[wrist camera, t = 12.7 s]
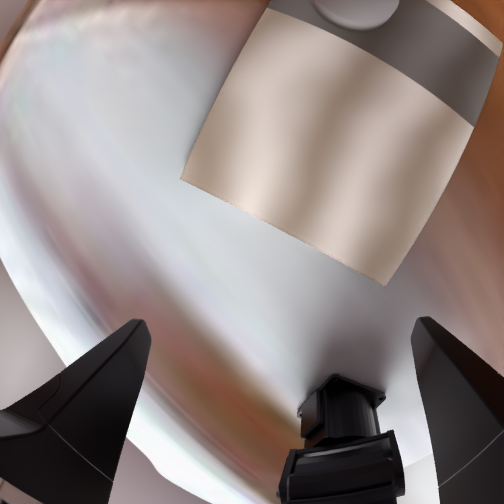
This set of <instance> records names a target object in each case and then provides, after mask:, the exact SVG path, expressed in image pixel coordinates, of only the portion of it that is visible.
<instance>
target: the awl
mask: <svg viewBox="0 0 504 504" xmlns="http://www.w3.org/2000/svg"><path fill="white" fill-rule="evenodd" d="M310 1H311V4H312V6H313V8H314V9H315V11H316V12H317V13H318V14H319V15H320V16H321V17H322V18H323V19H325V20H326V21H327V22H329V23H330V24H332V25H334V26H336V27H338V28H341V29H344V30H348V31H353V32H368V31H373V30H376V29H378V28H380V27H381V26H383V25H384V24H385V23H386V22H387V21H388V19H389V18H390V17H391V15H392V14H393V13H394V11H395V10H396V9H397V7H398V4H399V0H310Z"/></svg>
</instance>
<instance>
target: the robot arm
mask: <svg viewBox="0 0 504 504" xmlns="http://www.w3.org/2000/svg"><path fill="white" fill-rule="evenodd" d="M411 345H412V350H413V356H414V362H415V369H416V375H417V381H418V385H419V389H420V393H421V397H422V401H423V406H424V410H425V414H426V419H427V424H428V428H429V433H430V438H431V444H432V449H433V455H434V460H435V467H436V473H437V480H438V486H439V488H438V489H439V497H440V504H504V377H503V376H502V375H500V374H498V372H497V371H496V370H494V369H493V368H492V367H491V366H490V365H489V364H487V363H486V362H485V361H484V360H483V359H482V358H480V357H479V356H478V355H477V354H476V353H474V352H473V351H472V350H471V349H469V348H468V347H467V346H466V345H465V344H463V343H462V342H461V341H460V340H458V339H457V338H456V337H455V336H454V335H452V334H451V333H450V332H449V331H447V330H446V329H445V328H444V327H442V326H441V325H440V324H438V323H437V322H436V321H435V320H433V319H432V318H431V317H429V316H425V317H419V318H418V319H417V320H416V323H415V326H414V329H413V332H412V335H411ZM150 346H151V335H150V333H149V330H148V327H147V325H146V322H145V321H144V320H143V319H132V320H130V321H129V322H127V323H126V324H125V325H123V326H122V327H121V328H119V329H118V330H116V331H115V332H114V333H112V334H111V335H110V336H108V337H107V338H106V339H104V340H103V341H101V342H100V343H99V344H97V345H96V346H95V347H93V348H92V349H91V350H89V351H88V352H87V353H85V354H84V355H83V356H81V357H80V358H79V359H77V360H76V361H75V362H73V363H72V364H71V365H69V366H68V367H67V368H65V369H64V370H63V371H61V373H59V374H57V375H56V376H55V377H53V378H52V379H50V380H49V381H48V382H46V383H45V384H43V385H42V386H41V387H39V388H38V389H36V390H34V391H33V392H32V393H30V394H28V395H27V396H25V397H23V398H22V399H20V400H19V401H17V402H15V403H14V404H12V405H11V406H9V407H7V408H6V409H3V410H0V504H108V502H109V498H110V493H111V489H112V486H113V481H114V477H115V473H116V470H117V466H118V462H119V459H120V455H121V451H122V448H123V445H124V441H125V438H126V434H127V431H128V428H129V424H130V421H131V418H132V414H133V411H134V408H135V405H136V401H137V398H138V395H139V392H140V389H141V386H142V383H143V379H144V375H145V370H146V365H147V360H148V356H149V351H150ZM334 379H337V380H334ZM380 397H381V398H380ZM385 399H386V396H385V393H383V392H380V391H378V390H375V389H373V388H370V387H367V386H365V385H362V384H360V383H357V382H355V381H352V380H350V379H347V378H345V377H342V376H340V375H337V374H334V375H331V376H330V377H329V378H328V379H327V381H326V382H325V383H324V384H323V385H322V386H321V387H320V388H319V389H318V390H316V391H315V392H314V393H313V394H312V395H311V396H310V397H309V398H308V399H307V400H306V401H305V402H304V403H303V405H302V407H301V408H300V409H299V410H298V412H297V417H298V418H301V438H303V439H305V444H304V449H290V452H289V455H288V457H287V459H286V463H285V466H284V470H283V473H282V476H281V480H280V483H279V489H278V490H277V493H276V495H277V498H279V499H280V500H281V504H397V500H396V497H399V496H403V495H405V480H404V471H403V465H402V460H401V456H400V452H399V448H398V445H397V441H396V438H395V434H394V431H393V430H389V431H387V432H386V433H382V434H381V432H380V427H379V422H378V416H377V411H376V408H377V407H378V406H379V405H380V404H381V403H382V402H383V401H384V400H385Z"/></svg>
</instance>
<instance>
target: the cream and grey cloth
mask: <svg viewBox="0 0 504 504" xmlns="http://www.w3.org/2000/svg"><path fill="white" fill-rule="evenodd" d="M502 47H503V43H502V42H501V41H499V40H498V39H497V38H496V37H495V36H494V35H493V34H492V33H491V32H489V31H488V30H487V29H486V28H485V27H484V26H482V25H481V24H480V23H479V22H478V21H476V20H475V19H474V18H473V17H471V16H470V15H469V14H468V13H466V12H465V11H464V10H462V9H461V8H460V7H458V6H457V5H456V4H454V3H453V2H451V1H450V0H399V4H398V7H397V9H396V10H395V11H394V13H393V14H392V15H391V17H390V18H389V19H388V21H387V22H386V23H385V24H384V25H383V26H381V27H380V28H378V29H376V30H373V31H368V32H353V31H348V30H344V29H341V28H338V27H336V26H334V25H332V24H330V23H329V22H327V21H326V20H325V19H323V18H322V17H321V16H320V15H319V14H318V13H317V12H316V11H315V9H314V8H313V6H312V4H311V1H310V0H271V1H270V3H269V5H268V6H267V8H266V10H265V11H264V13H263V15H262V16H261V18H260V20H259V21H258V23H257V25H256V26H255V28H254V30H253V31H252V33H251V35H250V37H249V38H248V40H247V42H246V44H245V45H244V47H243V49H242V51H241V53H240V54H239V56H238V58H237V60H236V62H235V64H234V65H233V67H232V69H231V71H230V73H229V75H228V77H227V79H226V81H225V82H224V84H223V86H222V88H221V90H220V92H219V94H218V96H217V98H216V100H215V102H214V104H213V106H212V108H211V110H210V113H209V115H208V117H207V119H206V121H205V123H204V125H203V127H202V129H201V132H200V134H199V136H198V138H197V140H196V142H195V145H194V147H193V149H192V151H191V154H190V156H189V158H188V161H187V163H186V165H185V168H184V170H183V172H182V175H181V177H180V179H181V180H183V181H185V182H187V183H189V184H191V185H193V186H195V187H197V188H199V189H201V190H203V191H205V192H207V193H209V194H211V195H213V196H215V197H217V198H219V199H221V200H223V201H225V202H227V203H229V204H231V205H233V206H235V207H237V208H239V209H241V210H243V211H245V212H247V213H249V214H251V215H253V216H255V217H257V218H259V219H260V220H262V221H264V222H266V223H268V224H270V225H272V226H274V227H276V228H278V229H280V230H282V231H283V232H285V233H287V234H289V235H291V236H293V237H295V238H297V239H299V240H300V241H302V242H304V243H306V244H308V245H310V246H312V247H314V248H315V249H317V250H319V251H321V252H323V253H325V254H327V255H328V256H330V257H332V258H334V259H336V260H338V261H339V262H341V263H343V264H345V265H347V266H348V267H350V268H352V269H354V270H356V271H357V272H359V273H361V274H363V275H365V276H366V277H368V278H370V279H372V280H374V281H375V282H377V283H379V284H381V285H382V286H384V287H385V286H386V285H387V283H388V282H389V281H390V279H391V278H392V276H393V275H394V273H395V272H396V270H397V269H398V267H399V266H400V264H401V262H402V261H403V259H404V258H405V256H406V255H407V253H408V252H409V250H410V248H411V247H412V245H413V243H414V242H415V240H416V239H417V237H418V235H419V234H420V232H421V230H422V229H423V227H424V225H425V223H426V222H427V220H428V218H429V217H430V215H431V213H432V211H433V209H434V208H435V206H436V204H437V202H438V200H439V199H440V197H441V195H442V193H443V191H444V189H445V187H446V185H447V184H448V182H449V180H450V178H451V176H452V174H453V172H454V170H455V168H456V166H457V164H458V161H459V159H460V157H461V155H462V153H463V151H464V149H465V147H466V144H467V142H468V140H469V138H470V135H471V133H472V131H473V128H474V127H475V125H476V122H477V120H478V117H479V115H480V112H481V110H482V107H483V105H484V102H485V99H486V97H487V94H488V91H489V89H490V86H491V83H492V80H493V77H494V74H495V71H496V68H497V65H498V61H499V57H500V54H501V50H502Z"/></svg>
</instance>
